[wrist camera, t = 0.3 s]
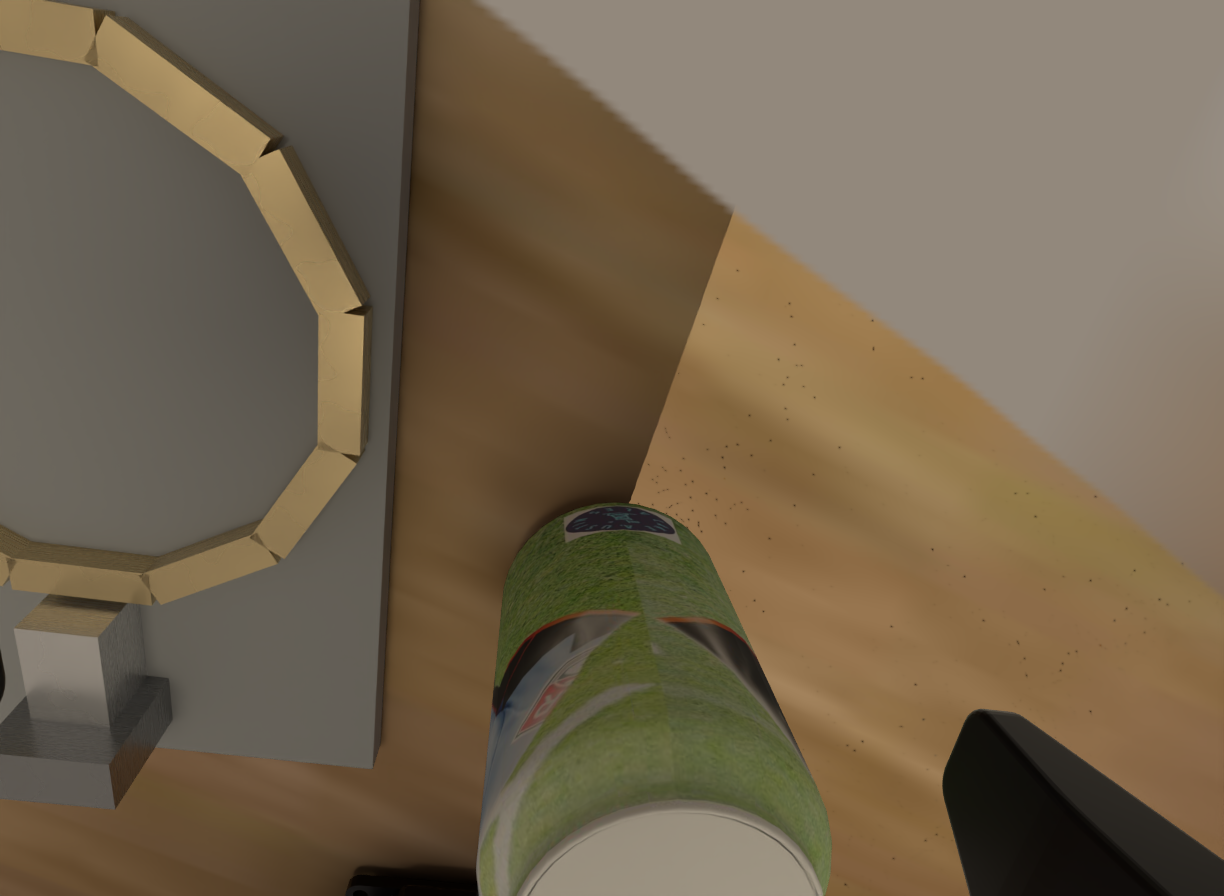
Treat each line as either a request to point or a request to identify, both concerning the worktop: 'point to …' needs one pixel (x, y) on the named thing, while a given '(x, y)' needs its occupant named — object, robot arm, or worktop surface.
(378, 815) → the worktop surface
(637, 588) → the beverage can
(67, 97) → the base
